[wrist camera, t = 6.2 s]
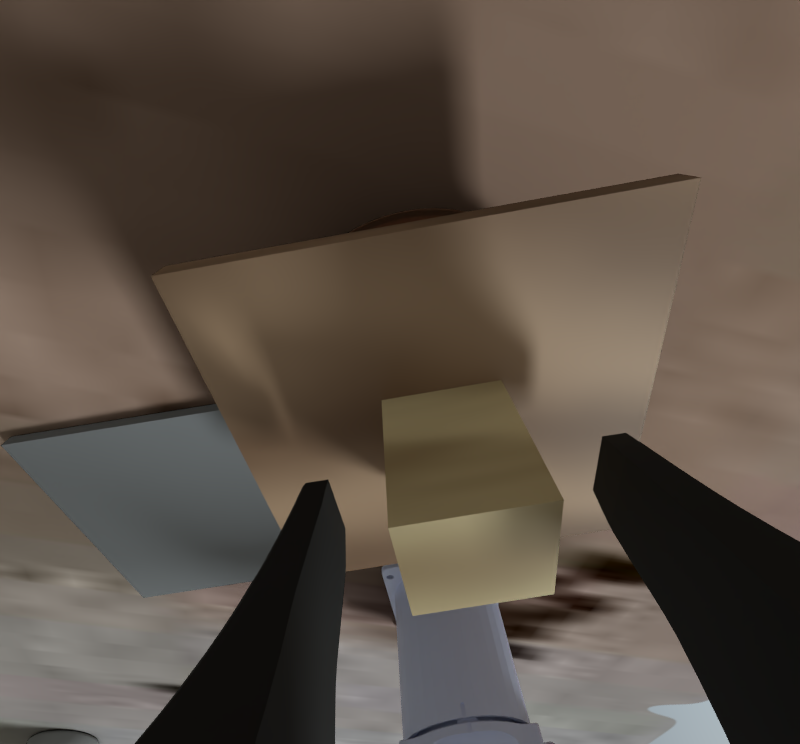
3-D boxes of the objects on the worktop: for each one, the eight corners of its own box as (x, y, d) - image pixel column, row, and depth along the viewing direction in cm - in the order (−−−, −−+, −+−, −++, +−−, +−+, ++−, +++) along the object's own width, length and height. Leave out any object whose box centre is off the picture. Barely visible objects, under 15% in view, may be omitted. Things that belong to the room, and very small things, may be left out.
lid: (609, 511, 17) (695, 650, 12) (308, 560, 17) (287, 711, 13) (678, 174, 10) (934, 215, 5) (164, 266, 10) (7, 376, 6)
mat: (348, 558, 27) (348, 566, 26) (147, 588, 27) (143, 597, 27) (287, 392, 19) (285, 399, 19) (10, 436, 20) (0, 445, 19)
